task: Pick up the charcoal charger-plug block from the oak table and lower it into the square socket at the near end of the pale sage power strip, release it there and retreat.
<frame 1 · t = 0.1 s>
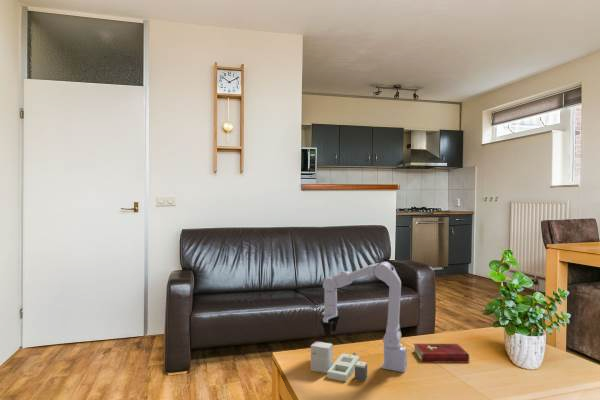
hand: (330, 333, 173), 10 cm above the table, fingers open, 7 cm apart
plug: (361, 378, 152), on the table
hardcover book: (440, 357, 174), on the table
power strip: (344, 369, 160), on the table
small box: (321, 370, 160), on the table
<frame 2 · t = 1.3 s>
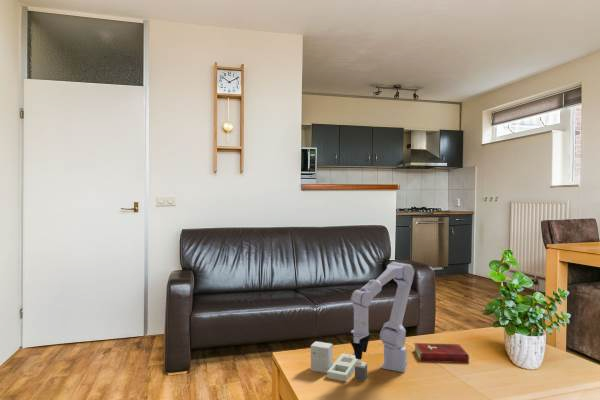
hand: (361, 355, 152), 9 cm above the table, fingers open, 7 cm apart
nothing on the table moved.
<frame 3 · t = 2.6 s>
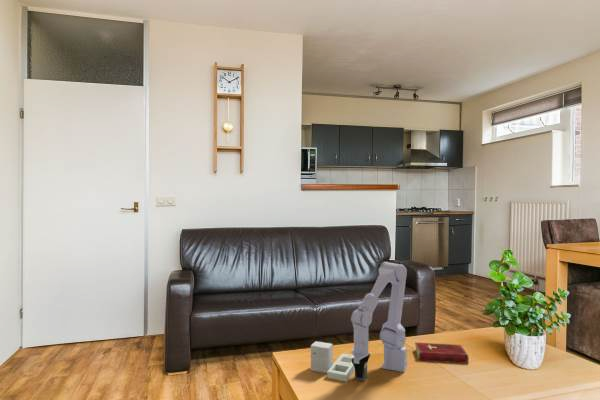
hand: (361, 374, 152), 1 cm above the table, fingers closed on plug, 4 cm apart
plug: (361, 378, 152), on the table, touching gripper
everything else where it was.
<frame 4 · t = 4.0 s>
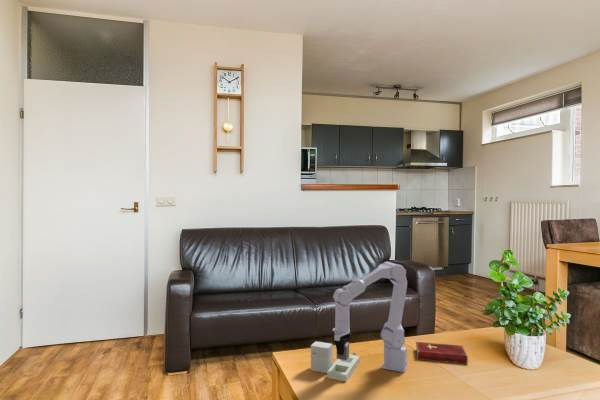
hand: (342, 352, 155), 9 cm above the table, fingers closed on plug, 4 cm apart
plug: (342, 357, 155), point 7 cm above the table, touching gripper
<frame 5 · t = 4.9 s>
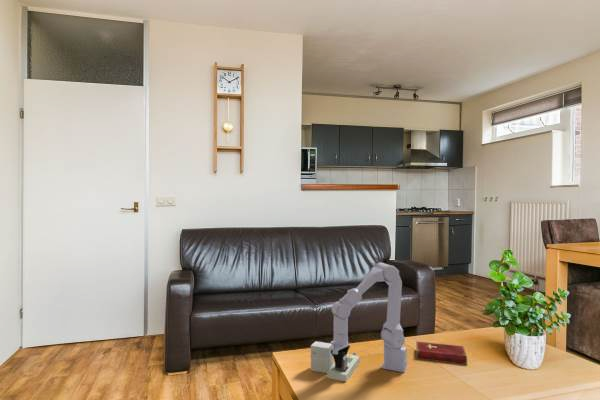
hand: (340, 365, 155), 4 cm above the table, fingers closed on plug, 4 cm apart
plug: (341, 370, 155), point 2 cm above the table, touching gripper
when the fingers open (3 cm above the table, at t = 5.4 s): plug stays where it is, resting on power strip.
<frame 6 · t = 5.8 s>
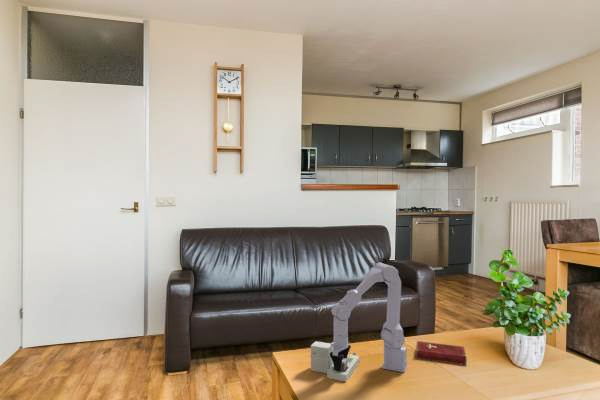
hand: (340, 367, 155), 3 cm above the table, fingers open, 7 cm apart
plug: (341, 374, 155), resting on power strip
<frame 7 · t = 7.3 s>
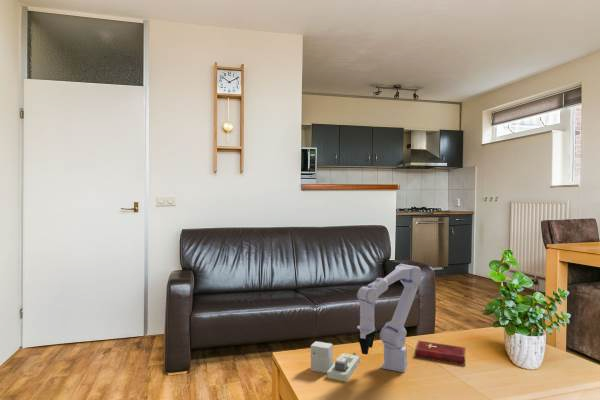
hand: (367, 350, 155), 10 cm above the table, fingers open, 7 cm apart
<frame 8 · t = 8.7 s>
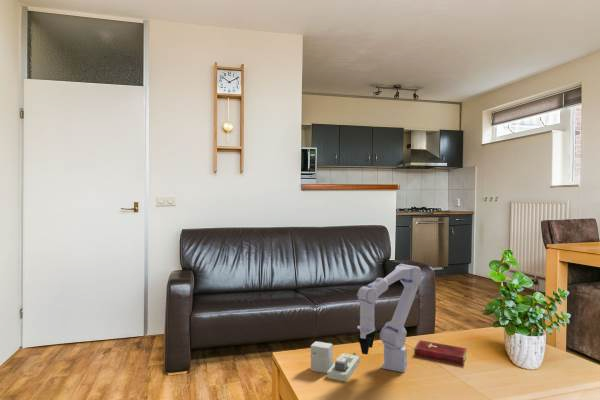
hand: (367, 350, 155), 10 cm above the table, fingers open, 7 cm apart
at the end: plug 0.3 cm from the target spot on the power strip, point 0.2 cm above the power strip's base; plug tilted 0°; the gripper is holding nothing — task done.
